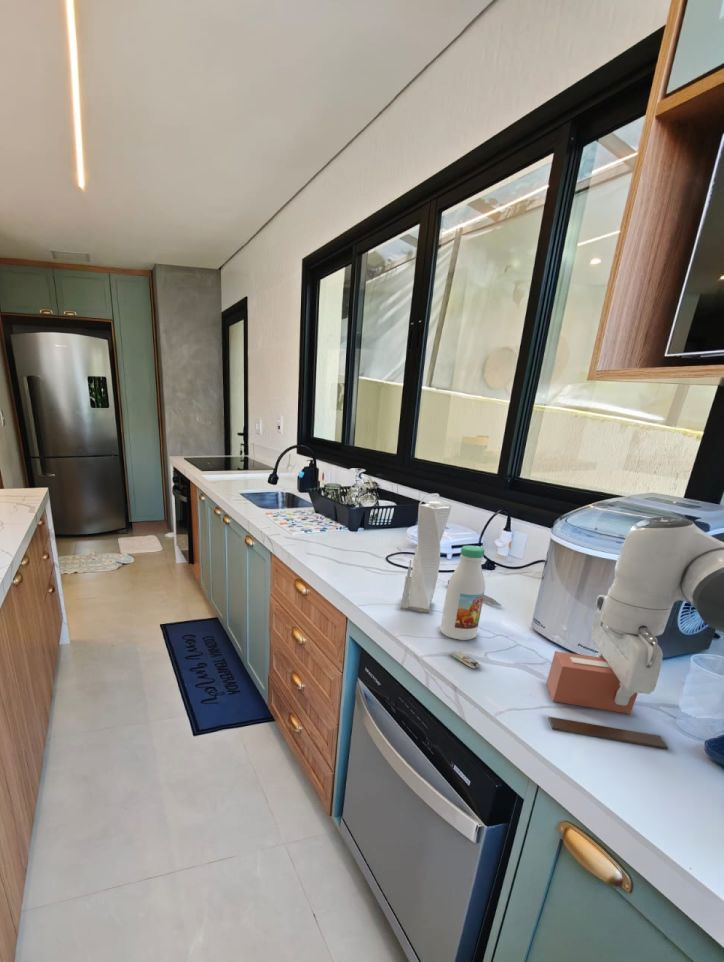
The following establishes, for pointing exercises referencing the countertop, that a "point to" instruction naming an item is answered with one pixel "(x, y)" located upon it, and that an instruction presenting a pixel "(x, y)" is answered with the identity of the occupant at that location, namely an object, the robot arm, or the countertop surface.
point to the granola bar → (465, 659)
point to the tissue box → (585, 682)
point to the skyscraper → (425, 556)
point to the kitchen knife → (489, 600)
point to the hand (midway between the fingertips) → (610, 688)
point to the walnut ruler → (607, 732)
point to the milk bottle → (464, 596)
